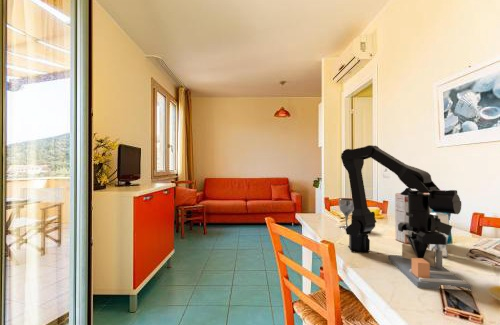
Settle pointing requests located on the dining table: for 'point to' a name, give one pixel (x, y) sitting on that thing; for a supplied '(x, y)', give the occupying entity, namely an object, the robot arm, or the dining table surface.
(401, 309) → the dining table surface
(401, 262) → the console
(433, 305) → the dining table surface
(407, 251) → the two-tone tan block
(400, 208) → the cracker box
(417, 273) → the fader
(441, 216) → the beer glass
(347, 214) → the wine glass
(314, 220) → the dining table surface
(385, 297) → the dining table surface
